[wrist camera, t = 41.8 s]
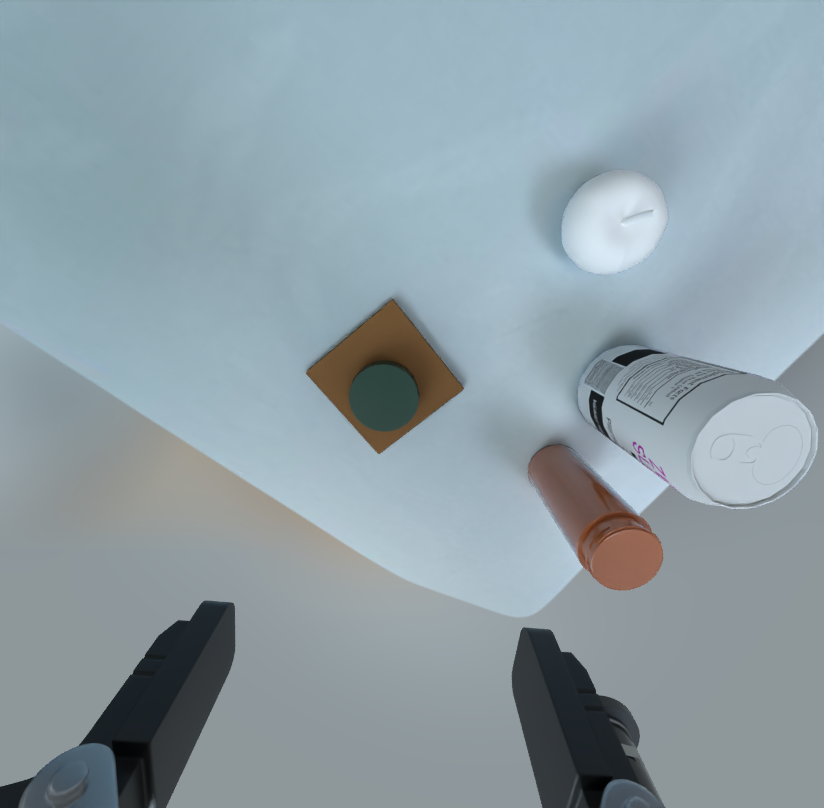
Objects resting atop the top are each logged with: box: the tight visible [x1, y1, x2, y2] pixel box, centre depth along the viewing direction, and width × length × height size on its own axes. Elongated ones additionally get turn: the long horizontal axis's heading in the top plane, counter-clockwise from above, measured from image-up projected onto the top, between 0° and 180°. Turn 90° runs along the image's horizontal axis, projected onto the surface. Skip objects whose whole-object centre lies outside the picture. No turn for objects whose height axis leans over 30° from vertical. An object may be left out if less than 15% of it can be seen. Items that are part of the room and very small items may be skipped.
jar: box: [528, 445, 663, 590], centre depth 33 cm, size 5×5×14 cm
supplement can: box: [577, 345, 818, 509], centre depth 30 cm, size 8×8×15 cm
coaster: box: [306, 300, 464, 454], centre depth 36 cm, size 10×10×1 cm
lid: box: [349, 360, 420, 432], centre depth 35 cm, size 6×6×2 cm
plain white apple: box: [561, 169, 668, 274], centre depth 29 cm, size 7×7×8 cm
